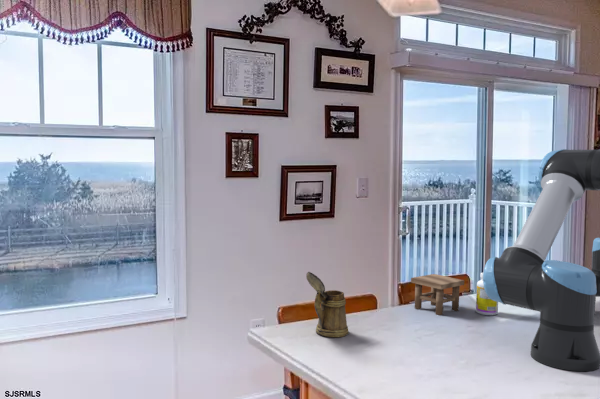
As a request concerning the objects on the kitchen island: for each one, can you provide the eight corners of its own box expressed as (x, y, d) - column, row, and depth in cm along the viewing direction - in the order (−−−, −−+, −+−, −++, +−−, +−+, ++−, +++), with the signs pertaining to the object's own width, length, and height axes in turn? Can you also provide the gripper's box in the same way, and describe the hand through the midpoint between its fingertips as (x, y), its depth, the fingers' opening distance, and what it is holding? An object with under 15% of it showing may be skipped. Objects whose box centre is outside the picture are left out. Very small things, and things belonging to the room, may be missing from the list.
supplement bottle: (480, 309, 173) (481, 270, 173) (500, 313, 169) (502, 273, 168) (472, 313, 168) (474, 273, 167) (493, 317, 164) (495, 276, 163)
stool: (440, 316, 163) (441, 284, 163) (410, 307, 173) (411, 277, 172) (463, 310, 171) (464, 280, 170) (433, 302, 180) (434, 273, 180)
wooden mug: (296, 334, 143) (297, 268, 142) (333, 326, 151) (335, 264, 150) (317, 343, 136) (318, 274, 135) (355, 334, 144) (357, 269, 143)
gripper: (603, 307, 161) (538, 308, 158) (552, 288, 185) (496, 289, 182) (604, 282, 160) (540, 284, 157) (553, 267, 185) (497, 267, 182)
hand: (516, 286), depth 170 cm, fingers open, 13 cm apart
